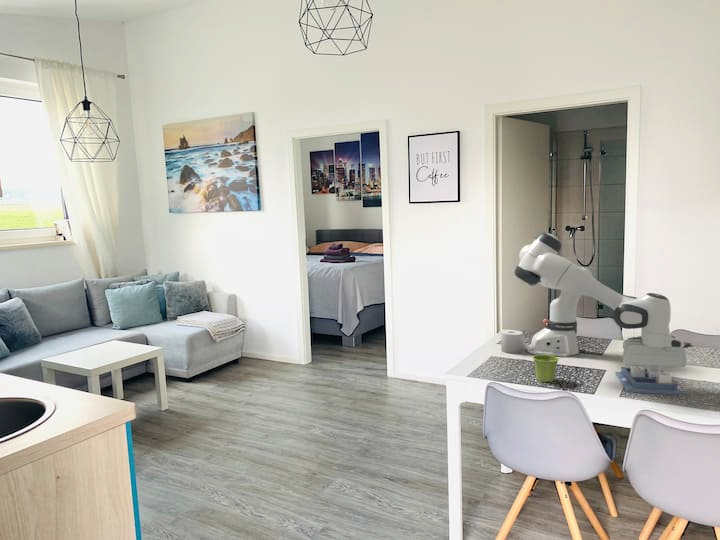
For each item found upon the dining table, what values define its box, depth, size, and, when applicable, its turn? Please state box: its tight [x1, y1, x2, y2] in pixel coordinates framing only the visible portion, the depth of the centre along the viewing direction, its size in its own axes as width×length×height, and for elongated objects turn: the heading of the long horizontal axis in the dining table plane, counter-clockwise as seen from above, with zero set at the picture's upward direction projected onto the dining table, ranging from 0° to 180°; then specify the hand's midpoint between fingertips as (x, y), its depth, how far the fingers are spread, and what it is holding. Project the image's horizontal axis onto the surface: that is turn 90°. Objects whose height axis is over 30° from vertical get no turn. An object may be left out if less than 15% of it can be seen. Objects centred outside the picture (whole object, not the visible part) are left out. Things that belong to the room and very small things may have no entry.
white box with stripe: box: [647, 366, 661, 373], centre depth 213 cm, size 4×4×5 cm
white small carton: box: [630, 365, 645, 377], centre depth 209 cm, size 4×4×5 cm
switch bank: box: [615, 366, 685, 395], centre depth 208 cm, size 18×20×3 cm
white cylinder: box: [500, 329, 527, 355], centre depth 258 cm, size 9×13×9 cm
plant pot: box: [532, 354, 559, 383], centre depth 215 cm, size 9×9×9 cm
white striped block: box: [656, 371, 673, 384], centre depth 201 cm, size 4×4×5 cm
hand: (652, 377), depth 202 cm, fingers closed
